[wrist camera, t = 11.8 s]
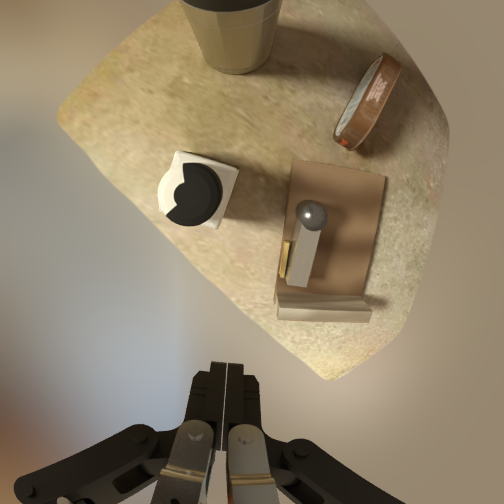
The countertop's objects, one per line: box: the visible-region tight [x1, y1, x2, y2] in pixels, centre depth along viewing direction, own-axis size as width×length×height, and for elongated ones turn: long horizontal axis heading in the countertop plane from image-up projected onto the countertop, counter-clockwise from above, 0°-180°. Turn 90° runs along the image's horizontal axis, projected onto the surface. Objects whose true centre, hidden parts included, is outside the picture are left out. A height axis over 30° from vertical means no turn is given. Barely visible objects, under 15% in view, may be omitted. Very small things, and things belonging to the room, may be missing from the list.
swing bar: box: [285, 200, 328, 287], centre depth 35 cm, size 11×3×4 cm, turn 170°
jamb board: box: [274, 159, 385, 323], centre depth 35 cm, size 20×13×6 cm, turn 174°
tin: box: [333, 53, 402, 151], centre depth 28 cm, size 15×3×8 cm, turn 152°
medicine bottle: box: [158, 151, 239, 230], centre depth 30 cm, size 7×7×12 cm
